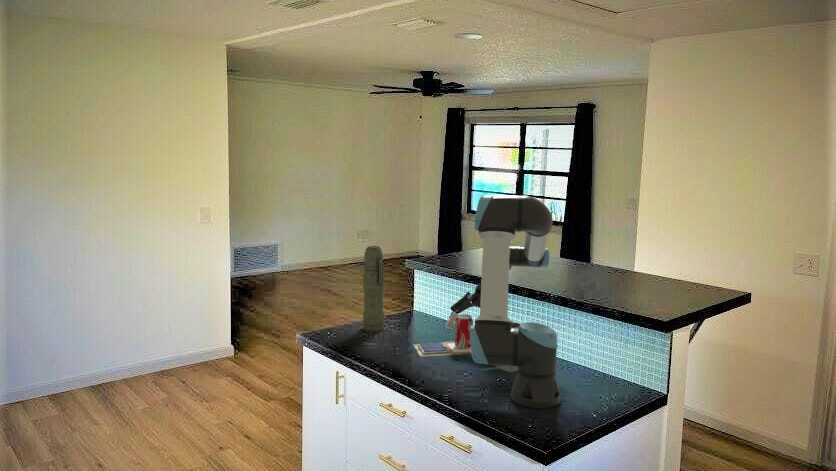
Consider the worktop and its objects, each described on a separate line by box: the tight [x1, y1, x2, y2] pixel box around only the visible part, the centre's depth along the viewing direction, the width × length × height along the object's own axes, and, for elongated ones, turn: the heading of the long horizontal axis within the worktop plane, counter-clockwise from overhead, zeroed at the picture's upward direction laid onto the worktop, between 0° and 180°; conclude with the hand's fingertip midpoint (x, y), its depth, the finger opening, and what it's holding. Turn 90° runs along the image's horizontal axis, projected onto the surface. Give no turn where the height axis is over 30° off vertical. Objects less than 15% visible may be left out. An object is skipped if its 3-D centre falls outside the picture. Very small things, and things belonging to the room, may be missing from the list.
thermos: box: [362, 245, 385, 333], centre depth 262 cm, size 9×12×35 cm
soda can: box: [453, 313, 474, 349], centre depth 239 cm, size 7×7×12 cm
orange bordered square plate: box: [442, 340, 472, 355], centre depth 240 cm, size 13×13×1 cm
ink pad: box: [417, 341, 450, 355], centre depth 237 cm, size 10×10×1 cm
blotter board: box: [412, 343, 472, 358], centre depth 239 cm, size 14×26×1 cm, turn 102°
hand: (460, 331), depth 237 cm, fingers open, 13 cm apart
